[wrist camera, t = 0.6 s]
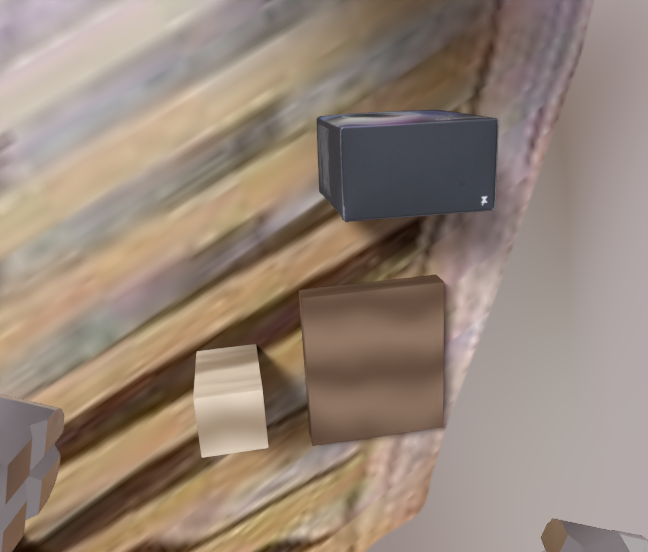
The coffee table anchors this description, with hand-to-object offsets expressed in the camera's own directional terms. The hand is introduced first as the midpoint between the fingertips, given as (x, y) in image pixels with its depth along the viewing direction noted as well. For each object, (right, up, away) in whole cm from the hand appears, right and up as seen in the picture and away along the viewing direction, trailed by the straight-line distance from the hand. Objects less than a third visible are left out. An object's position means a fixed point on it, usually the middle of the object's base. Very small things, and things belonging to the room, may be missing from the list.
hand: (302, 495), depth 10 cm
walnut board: (+5, -3, +45) cm, 45 cm away
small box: (+5, +14, +39) cm, 42 cm away
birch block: (-8, -5, +43) cm, 44 cm away
